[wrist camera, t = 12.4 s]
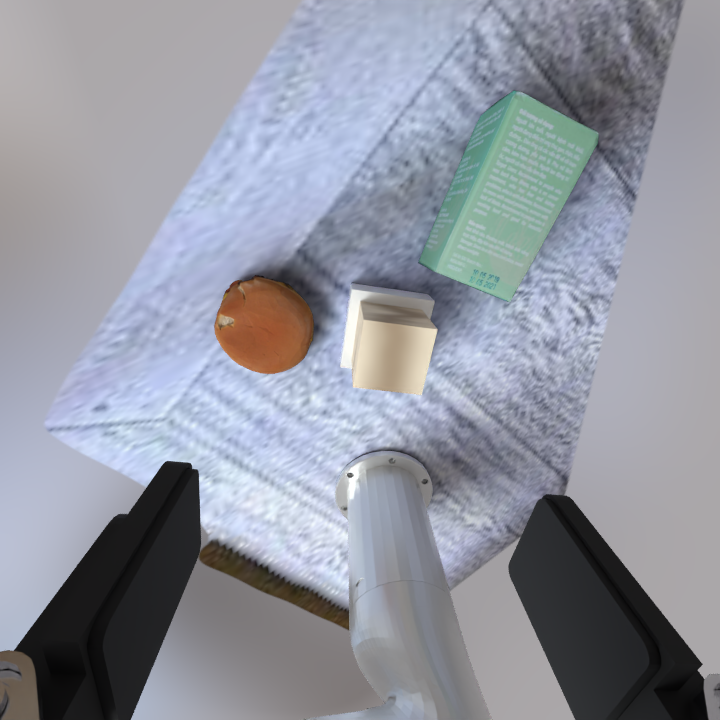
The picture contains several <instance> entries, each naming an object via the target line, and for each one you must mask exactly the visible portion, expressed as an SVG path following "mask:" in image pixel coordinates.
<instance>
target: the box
mask: <svg viewBox="0 0 720 720" xmlns="http://www.w3.org/2000/svg"><path fill="white" fill-rule="evenodd" d="M598 138H599V133H598V132H597V131H595V130H593V129H591V128H589V127H587V126H585V125H583V124H581V123H579V122H577V121H575V120H573V119H571V118H570V117H568V116H566V115H564V114H562V113H560V112H559V111H557V110H555V109H553V108H551V107H549V106H547V105H545V104H543V103H541V102H539V101H538V100H536V99H534V98H532V97H530V96H528V95H526V94H524V93H522V92H520V91H513V92H511V93H509V94H508V95H506V96H505V97H503V98H502V99H500V100H499V101H498V102H496V103H495V104H494V105H493V106H491V107H490V108H489V109H488V110H487V111H486V112H485V113H484V114H483V115H481V116H480V118H479V120H478V122H477V124H476V126H475V129H474V131H473V133H472V136H471V138H470V141H469V143H468V145H467V148H466V150H465V152H464V155H463V157H462V159H461V162H460V164H459V167H458V169H457V171H456V174H455V176H454V178H453V181H452V183H451V185H450V188H449V190H448V192H447V195H446V197H445V199H444V202H443V204H442V206H441V209H440V211H439V213H438V216H437V218H436V220H435V223H434V225H433V228H432V230H431V233H430V235H429V238H428V240H427V242H426V245H425V247H424V250H423V252H422V255H421V257H420V260H419V262H418V263H420V264H422V265H423V266H425V267H427V268H429V269H431V270H432V271H434V272H436V273H439V274H441V275H444V276H446V277H449V278H451V279H454V280H456V281H458V282H461V283H463V284H466V285H468V286H471V287H473V288H475V289H478V290H480V291H483V292H485V293H488V294H490V295H493V296H495V297H497V298H500V299H502V300H504V301H507V302H510V301H511V299H512V297H513V296H514V294H515V292H516V290H517V288H518V286H519V285H520V283H521V281H522V280H523V278H524V276H525V274H526V273H527V271H528V269H529V267H530V266H531V264H532V262H533V260H534V258H535V257H536V255H537V253H538V251H539V249H540V247H541V246H542V244H543V242H544V240H545V238H546V237H547V235H548V233H549V231H550V229H551V228H552V226H553V224H554V222H555V220H556V219H557V217H558V215H559V213H560V211H561V210H562V208H563V206H564V204H565V202H566V201H567V199H568V197H569V195H570V193H571V191H572V190H573V188H574V186H575V184H576V182H577V180H578V179H579V177H580V175H581V173H582V171H583V169H584V167H585V166H586V164H587V162H588V160H589V158H590V156H591V154H592V153H593V151H594V149H595V147H596V146H597V144H598Z"/></svg>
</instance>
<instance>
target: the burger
mask: <svg viewBox="0 0 720 720" xmlns="http://www.w3.org/2000/svg"><path fill="white" fill-rule="evenodd" d="M214 327H215V335H216V338H217V340H218V341H219V343H220V345H221V346H222V348H223V350H224V351H225V352H226V353H227V354H228V355H229V356H230V358H231V359H232V360H234V361H235V362H236V363H238V364H239V365H241V366H243V367H245V368H247V369H250V370H252V371H255V372H259V373H264V374H275V373H279V372H283V371H286V370H289V369H291V368H292V367H294V366H296V365H297V364H298V363H300V362H301V361H302V360H303V359H304V358H305V356H306V354H307V351H308V348H309V346H310V344H311V341H313V328H314V321H313V315H312V312H311V310H310V308H309V306H308V305H307V303H306V302H305V301H304V299H303V298H301V296H300V295H299V294H297V292H296V291H295V290H294V289H293V288H292V287H291V286H290V285H289V284H286V283H284V282H278V281H275V280H273V279H268V278H265V277H263V276H258V275H255V276H254V277H253V278H252V279H251V280H248V281H244V282H243V281H242V280H237V281H235V282H233V283H232V284H231V285H230V288H229V289H227V290H226V292H225V294H224V297H223V300H222V303H221V306H220V308H219V311H218V313H217V318H216V322H215V325H214Z"/></svg>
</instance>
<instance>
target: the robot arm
mask: <svg viewBox="0 0 720 720" xmlns="http://www.w3.org/2000/svg"><path fill="white" fill-rule="evenodd" d="M432 493H433V488H432V482H431V478H430V476H429V474H428V471H427V470H426V468H425V467H424V466H423V465H422V463H420V462H419V461H418V460H417V459H415V458H413V457H411V456H409V455H407V454H404V453H401V452H395V451H378V452H372V453H369V454H366V455H363V456H361V457H359V458H357V459H355V460H353V461H352V462H351V463H350V464H348V465H347V466H346V467H345V468H344V470H343V471H342V472H341V474H340V475H339V477H338V479H337V483H336V487H335V499H336V504H337V507H338V509H339V510H340V512H341V513H342V515H343V516H344V517H345V518H346V519H347V520H348V565H349V625H350V640H351V645H352V650H353V653H354V656H355V658H356V661H357V663H358V665H359V667H360V669H361V671H362V673H363V674H364V676H365V677H366V679H367V680H368V682H369V683H370V685H371V686H372V687H373V689H374V690H375V691H376V693H377V694H378V695H379V696H380V698H381V699H382V700H383V702H384V703H385V704H383V705H381V706H377V707H372V708H367V709H366V710H364V711H357V712H350V713H343V714H336V715H329V716H322V717H315V718H309V719H303V720H492V718H491V716H490V713H489V711H488V708H487V706H486V704H485V701H484V698H483V695H482V693H481V690H480V687H479V685H478V682H477V679H476V677H475V674H474V671H473V668H472V665H471V662H470V659H469V656H468V653H467V650H466V646H465V643H464V640H463V636H462V633H461V630H460V626H459V623H458V619H457V616H456V613H455V609H454V605H453V601H452V598H451V594H450V591H449V587H448V583H447V580H446V576H445V573H444V569H443V566H442V562H441V559H440V555H439V551H438V548H437V544H436V541H435V537H434V534H433V530H432V526H431V523H430V519H429V516H428V512H427V509H426V508H427V507H428V505H429V503H430V501H431V498H432ZM200 529H201V528H200V499H199V473H198V470H196V469H192V465H191V463H184V462H173V461H166V462H165V463H164V464H163V465H162V466H161V468H160V469H159V471H158V472H157V474H156V475H155V476H154V478H153V479H152V481H151V482H150V484H149V485H148V486H147V488H146V490H145V491H144V492H143V494H142V495H141V496H140V498H139V499H138V501H137V502H136V504H135V505H134V506H133V508H132V509H131V511H130V512H129V514H118V515H117V516H115V517H114V518H113V519H112V520H111V521H110V522H109V524H108V525H107V526H106V528H105V529H104V530H103V532H102V533H101V534H100V536H99V537H98V538H97V540H96V541H95V542H94V544H93V545H92V546H91V548H90V549H89V551H88V552H87V553H86V554H85V556H84V557H83V558H82V560H81V561H80V563H79V564H78V565H77V567H76V568H75V569H74V571H73V572H72V573H71V575H70V576H69V577H68V579H67V580H66V581H65V583H64V584H63V586H62V587H61V588H60V589H59V591H58V592H57V594H56V595H55V596H54V598H53V599H52V600H51V601H50V603H49V604H48V605H47V607H46V609H45V610H44V611H43V612H42V614H41V615H40V616H39V618H38V619H37V620H36V622H35V623H34V624H33V626H32V627H31V628H30V630H29V631H28V632H27V634H26V635H25V637H24V638H23V639H22V641H21V642H20V643H19V644H18V646H17V647H16V649H15V650H14V651H10V650H7V651H2V652H0V720H131V717H132V715H133V713H134V710H135V708H136V705H137V703H138V701H139V698H140V696H141V693H142V691H143V689H144V686H145V684H146V681H147V679H148V676H149V674H150V672H151V669H152V667H153V665H154V662H155V660H156V657H157V655H158V652H159V650H160V648H161V645H162V643H163V640H164V638H165V636H166V633H167V631H168V628H169V626H170V624H171V621H172V619H173V616H174V614H175V611H176V609H177V607H178V604H179V602H180V599H181V597H182V594H183V592H184V590H185V587H186V585H187V582H188V580H189V578H190V575H191V573H192V570H193V568H194V565H195V563H196V561H197V558H198V555H199V552H200V547H201V530H200ZM509 574H510V577H511V580H512V582H513V584H514V586H515V589H516V591H517V593H518V595H519V597H520V599H521V602H522V604H523V606H524V608H525V610H526V612H527V615H528V617H529V619H530V621H531V624H532V626H533V628H534V630H535V632H536V635H537V637H538V639H539V641H540V643H541V646H542V648H543V650H544V652H545V654H546V656H547V659H548V661H549V663H550V665H551V667H552V670H553V672H554V674H555V676H556V678H557V680H558V683H559V685H560V687H561V689H562V692H563V694H564V696H565V698H566V700H567V702H568V704H569V707H570V709H571V711H572V713H573V715H574V718H575V720H720V674H711V675H710V674H709V675H708V676H707V677H706V678H705V679H704V678H703V677H702V676H701V674H700V673H699V672H698V669H699V668H700V667H701V666H702V663H701V662H700V661H699V659H698V658H697V657H696V655H695V654H694V653H693V652H692V650H691V649H690V648H689V647H688V645H687V644H686V643H685V642H684V640H683V639H682V638H681V637H680V635H679V634H678V633H677V631H676V630H675V629H674V628H673V626H672V625H671V624H670V623H669V622H668V620H667V619H666V618H665V616H664V615H663V614H662V612H661V611H660V610H659V609H658V607H657V606H656V605H655V604H654V602H653V601H652V600H651V599H650V597H649V596H648V595H647V594H646V592H645V591H644V590H643V589H642V587H641V586H640V585H639V583H638V582H637V581H636V580H635V578H634V577H633V576H632V575H631V573H630V572H629V571H628V569H627V568H626V567H625V566H624V564H623V563H622V562H621V561H620V559H619V558H618V557H617V556H616V555H615V553H614V552H613V551H612V549H611V548H610V547H609V546H608V544H607V543H606V542H605V541H604V539H603V538H602V537H601V535H600V534H599V533H598V532H597V530H596V529H595V528H594V526H593V525H592V524H591V523H590V522H589V520H588V519H587V518H586V516H585V515H584V514H583V513H582V511H581V510H580V509H579V508H578V506H577V505H576V504H575V503H574V501H573V500H572V499H571V498H570V497H567V496H562V495H551V494H546V495H544V496H543V498H542V499H540V500H538V502H537V503H536V505H535V508H534V510H533V512H532V514H531V516H530V519H529V521H528V523H527V525H526V527H525V529H524V532H523V534H522V536H521V538H520V541H519V543H518V545H517V547H516V549H515V551H514V553H513V556H512V558H511V560H510V563H509Z"/></svg>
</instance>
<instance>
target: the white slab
mask: <svg viewBox="0 0 720 720" xmlns="http://www.w3.org/2000/svg"><path fill="white" fill-rule="evenodd" d="M360 301H362V302H369V303H376V304H384V305H391V306H398V307H406V308H413V309H420V310H423V312H424V313H425V314H426V315H427V317H428V318H429V319H431V315H432V311H433V307H434V303H435V301H434V300H433V299H432V298H431V297H430V296H429V295H428V294H424V293H417V292H410V291H403V290H396V289H389V288H382V287H375V286H368V285H361V284H354V283H351V285H350V292H349V299H348V306H347V314H346V321H345V328H344V335H343V342H342V349H341V358H340V367H344V368H352V362H351V358H352V352H353V345H354V339H355V332H356V325H357V319H358V312H359V306H360Z"/></svg>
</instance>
